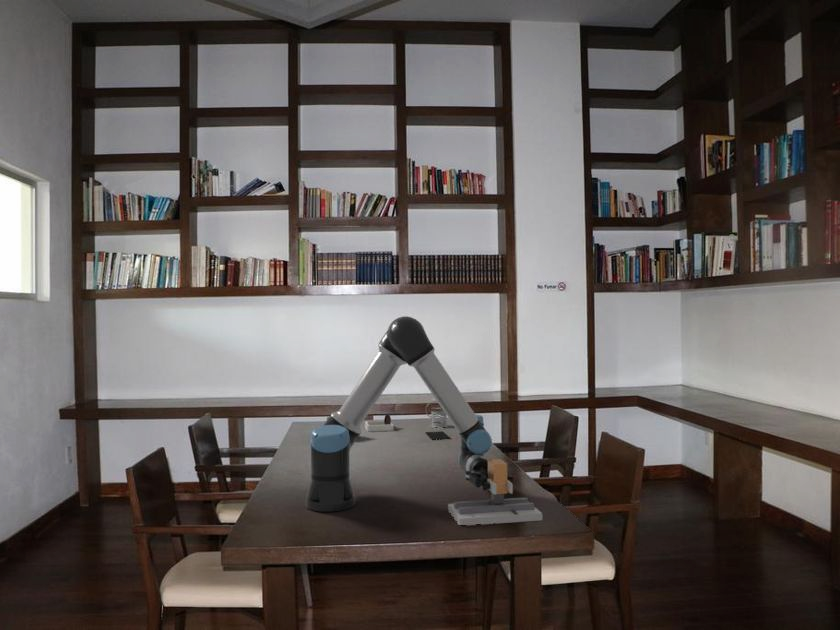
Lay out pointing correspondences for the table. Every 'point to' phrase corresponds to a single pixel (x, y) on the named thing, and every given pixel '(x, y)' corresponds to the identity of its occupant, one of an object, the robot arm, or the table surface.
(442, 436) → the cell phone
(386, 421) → the compass
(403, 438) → the table surface
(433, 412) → the french press
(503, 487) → the fader
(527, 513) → the fader console
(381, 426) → the watch dish
